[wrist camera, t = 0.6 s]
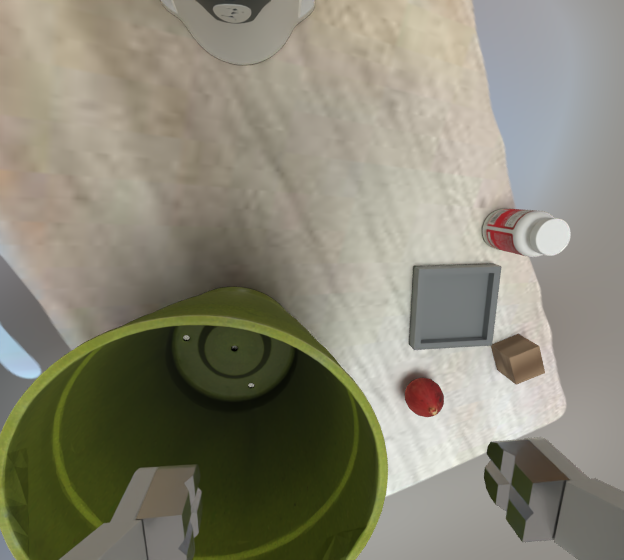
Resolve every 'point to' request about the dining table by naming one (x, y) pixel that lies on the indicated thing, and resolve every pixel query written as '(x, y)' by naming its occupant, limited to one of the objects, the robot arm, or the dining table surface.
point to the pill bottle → (526, 232)
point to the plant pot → (199, 435)
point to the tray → (453, 305)
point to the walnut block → (518, 358)
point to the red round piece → (424, 397)
